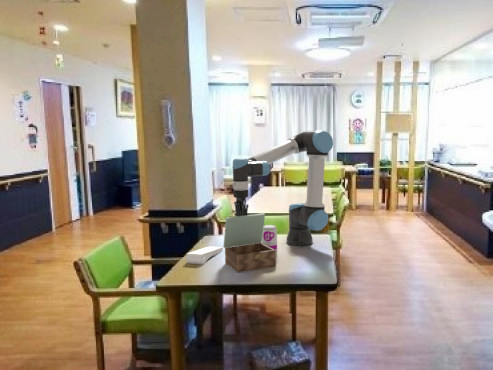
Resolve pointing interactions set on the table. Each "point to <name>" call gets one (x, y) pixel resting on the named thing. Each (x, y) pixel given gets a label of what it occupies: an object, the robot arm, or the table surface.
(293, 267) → the table surface
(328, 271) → the table surface
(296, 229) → the robot arm
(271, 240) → the supplement can
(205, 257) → the white rectangular bar
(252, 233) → the lid
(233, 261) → the walnut box
